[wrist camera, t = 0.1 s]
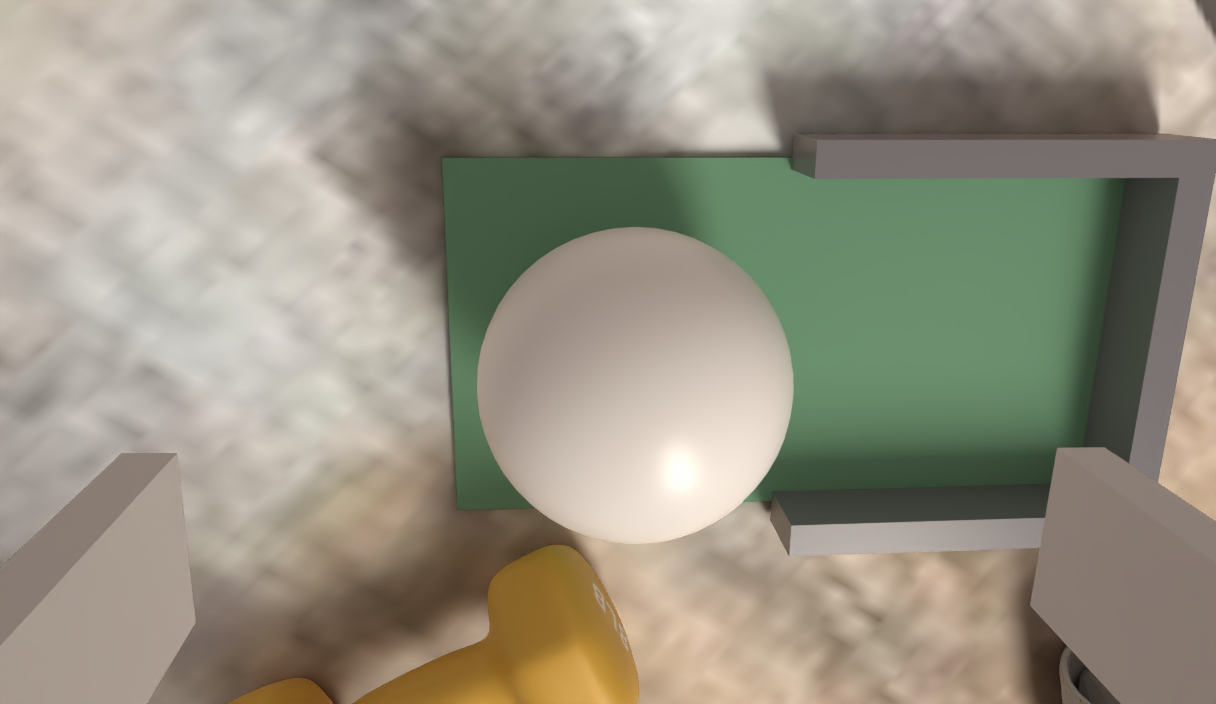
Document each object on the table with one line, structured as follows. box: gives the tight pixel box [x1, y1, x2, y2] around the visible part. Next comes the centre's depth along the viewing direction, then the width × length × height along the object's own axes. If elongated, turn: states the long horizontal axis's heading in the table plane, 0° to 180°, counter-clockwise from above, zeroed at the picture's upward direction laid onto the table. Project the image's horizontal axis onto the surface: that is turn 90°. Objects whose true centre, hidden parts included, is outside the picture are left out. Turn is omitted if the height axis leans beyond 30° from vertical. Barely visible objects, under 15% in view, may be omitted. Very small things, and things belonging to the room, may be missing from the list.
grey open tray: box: [770, 134, 1216, 556], centre depth 42 cm, size 18×16×4 cm
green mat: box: [442, 157, 1126, 510], centre depth 43 cm, size 16×32×1 cm, turn 90°
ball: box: [477, 227, 794, 544], centre depth 37 cm, size 12×12×12 cm
